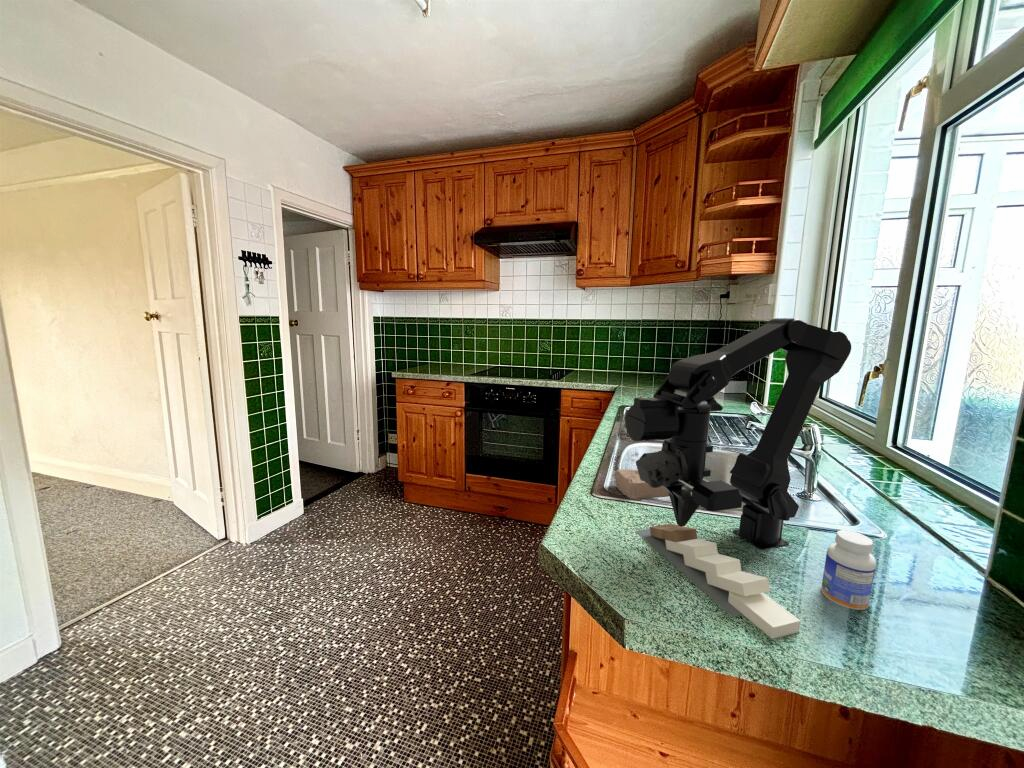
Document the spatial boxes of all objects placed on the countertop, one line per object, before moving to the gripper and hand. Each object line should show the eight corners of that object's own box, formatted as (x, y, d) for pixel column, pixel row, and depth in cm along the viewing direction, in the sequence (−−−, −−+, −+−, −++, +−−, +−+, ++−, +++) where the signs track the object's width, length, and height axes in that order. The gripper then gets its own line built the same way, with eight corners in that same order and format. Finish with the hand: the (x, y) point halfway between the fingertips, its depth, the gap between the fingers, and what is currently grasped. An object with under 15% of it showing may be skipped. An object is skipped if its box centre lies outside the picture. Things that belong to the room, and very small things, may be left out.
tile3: (705, 550, 67) (739, 559, 61) (707, 560, 67) (741, 571, 60) (683, 554, 66) (715, 564, 59) (684, 564, 66) (717, 575, 59)
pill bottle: (821, 582, 63) (830, 523, 61) (868, 597, 59) (878, 535, 58) (819, 600, 58) (829, 537, 57) (869, 618, 55) (880, 552, 53)
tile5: (754, 586, 58) (800, 620, 52) (753, 596, 58) (798, 632, 52) (729, 591, 57) (773, 627, 50) (728, 601, 57) (771, 638, 51)
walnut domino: (669, 523, 76) (696, 528, 69) (671, 532, 76) (697, 538, 69) (649, 526, 75) (674, 532, 68) (650, 535, 74) (675, 542, 68)
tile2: (686, 536, 72) (716, 542, 65) (688, 545, 71) (717, 553, 65) (665, 539, 70) (693, 546, 64) (666, 549, 70) (694, 557, 64)
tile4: (729, 567, 63) (768, 578, 56) (731, 579, 62) (770, 590, 56) (705, 572, 61) (742, 583, 55) (707, 583, 61) (744, 596, 55)
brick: (676, 483, 101) (677, 465, 100) (697, 497, 93) (698, 478, 92) (613, 487, 98) (614, 469, 97) (629, 503, 90) (630, 482, 89)
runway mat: (671, 527, 78) (671, 525, 78) (778, 608, 57) (779, 605, 57) (634, 532, 76) (634, 530, 76) (732, 619, 54) (732, 616, 54)
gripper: (615, 425, 74) (611, 506, 76) (685, 459, 56) (676, 563, 59) (668, 422, 77) (662, 500, 79) (750, 453, 59) (739, 552, 62)
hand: (681, 525), depth 70 cm, fingers closed
